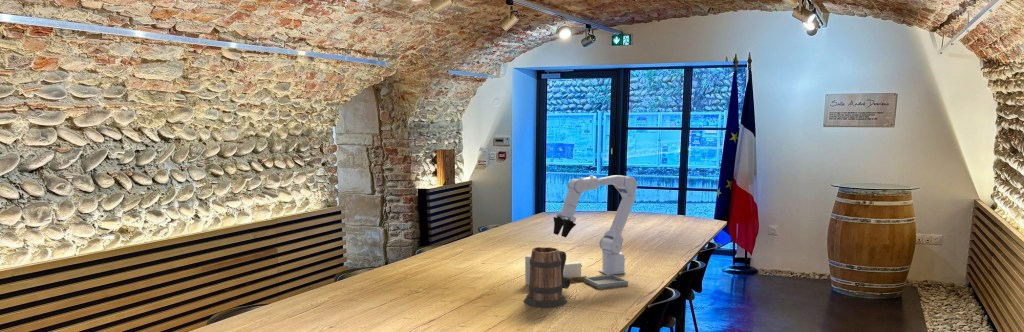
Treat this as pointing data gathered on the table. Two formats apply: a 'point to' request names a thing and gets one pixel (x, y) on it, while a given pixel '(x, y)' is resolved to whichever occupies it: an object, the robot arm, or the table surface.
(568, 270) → the beige rectangular block
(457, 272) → the table surface
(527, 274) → the skincare box
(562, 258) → the tankard
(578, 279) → the walnut dock
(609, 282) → the grey tray
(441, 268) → the table surface
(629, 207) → the robot arm
